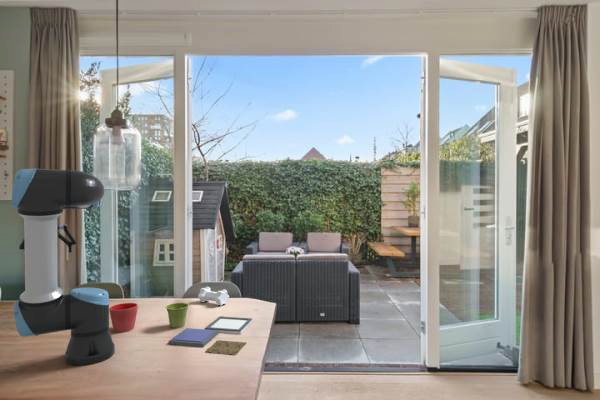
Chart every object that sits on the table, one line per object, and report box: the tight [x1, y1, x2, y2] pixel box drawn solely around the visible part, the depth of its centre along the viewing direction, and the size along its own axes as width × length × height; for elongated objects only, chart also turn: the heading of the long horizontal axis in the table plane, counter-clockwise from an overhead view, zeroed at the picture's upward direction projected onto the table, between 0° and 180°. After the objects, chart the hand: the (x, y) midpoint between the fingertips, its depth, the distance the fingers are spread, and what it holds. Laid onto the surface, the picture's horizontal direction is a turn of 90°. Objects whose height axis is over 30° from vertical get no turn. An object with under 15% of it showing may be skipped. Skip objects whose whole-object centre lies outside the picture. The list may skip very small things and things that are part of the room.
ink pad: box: [168, 327, 220, 348], centre depth 147 cm, size 14×14×2 cm
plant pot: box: [165, 302, 190, 329], centre depth 161 cm, size 9×9×9 cm
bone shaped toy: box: [197, 286, 230, 306], centre depth 195 cm, size 15×9×8 cm, turn 60°
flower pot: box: [109, 302, 139, 333], centre depth 157 cm, size 11×11×10 cm
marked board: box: [204, 316, 254, 335], centre depth 161 cm, size 16×16×1 cm
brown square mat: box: [204, 339, 247, 356], centre depth 138 cm, size 12×12×1 cm
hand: (49, 261), depth 164 cm, fingers open, 13 cm apart
